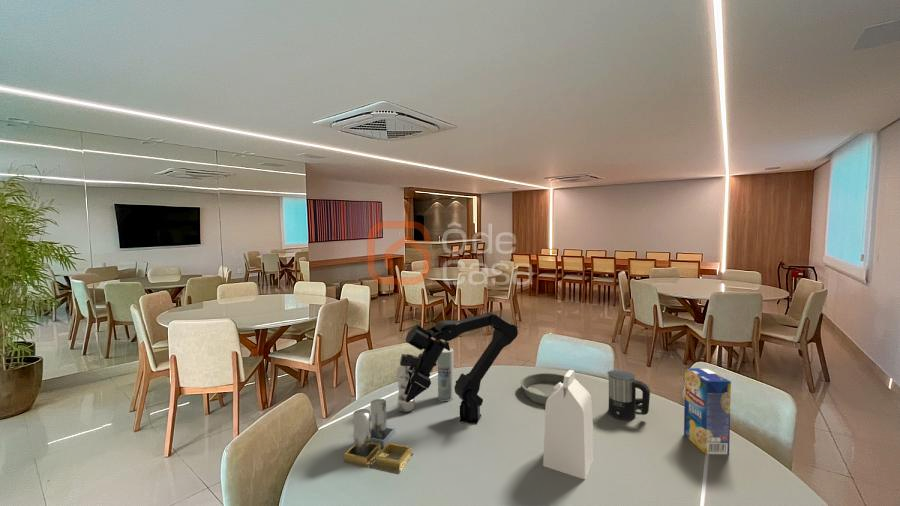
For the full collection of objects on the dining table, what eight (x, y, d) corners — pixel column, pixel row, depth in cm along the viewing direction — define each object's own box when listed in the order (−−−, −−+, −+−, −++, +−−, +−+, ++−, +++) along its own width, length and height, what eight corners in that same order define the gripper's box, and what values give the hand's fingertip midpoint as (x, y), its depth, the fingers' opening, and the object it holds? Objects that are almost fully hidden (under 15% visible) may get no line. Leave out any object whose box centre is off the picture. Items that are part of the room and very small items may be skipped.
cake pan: (534, 378, 169) (534, 368, 169) (589, 391, 155) (590, 380, 154) (510, 398, 149) (510, 387, 149) (571, 414, 135) (571, 402, 134)
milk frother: (607, 417, 132) (607, 377, 131) (606, 399, 146) (607, 362, 146) (652, 424, 126) (652, 382, 126) (647, 405, 141) (647, 367, 140)
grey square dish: (395, 437, 120) (395, 428, 120) (383, 450, 113) (383, 440, 113) (374, 433, 123) (374, 424, 123) (362, 446, 116) (362, 436, 116)
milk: (585, 479, 99) (585, 384, 97) (543, 466, 105) (543, 376, 103) (594, 456, 109) (594, 370, 108) (555, 445, 115) (555, 363, 114)
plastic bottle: (412, 415, 135) (411, 361, 134) (394, 413, 137) (393, 360, 136) (417, 407, 142) (416, 355, 141) (400, 405, 143) (399, 355, 142)
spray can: (435, 400, 147) (434, 351, 146) (441, 393, 153) (441, 346, 152) (450, 403, 145) (449, 353, 144) (456, 396, 151) (455, 348, 150)
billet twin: (374, 452, 111) (373, 410, 110) (365, 461, 106) (364, 417, 105) (360, 449, 112) (359, 408, 112) (351, 458, 108) (350, 415, 107)
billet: (389, 439, 120) (388, 400, 119) (382, 447, 115) (381, 406, 114) (376, 436, 121) (375, 398, 121) (368, 444, 117) (367, 404, 116)
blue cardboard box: (705, 434, 120) (706, 368, 119) (729, 454, 109) (731, 381, 108) (683, 434, 120) (684, 368, 119) (705, 454, 109) (707, 381, 108)
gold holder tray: (413, 456, 110) (413, 447, 110) (398, 477, 100) (398, 467, 100) (361, 446, 116) (361, 437, 116) (342, 465, 106) (342, 455, 106)
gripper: (408, 340, 133) (385, 379, 130) (411, 347, 115) (384, 392, 112) (434, 356, 134) (412, 395, 131) (441, 365, 116) (415, 410, 113)
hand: (405, 397), depth 122 cm, fingers open, 9 cm apart
